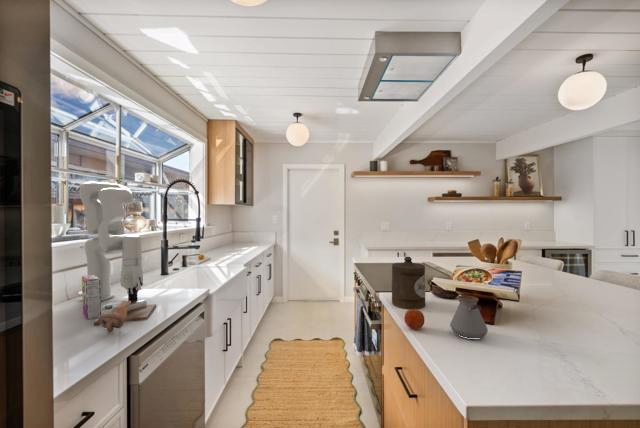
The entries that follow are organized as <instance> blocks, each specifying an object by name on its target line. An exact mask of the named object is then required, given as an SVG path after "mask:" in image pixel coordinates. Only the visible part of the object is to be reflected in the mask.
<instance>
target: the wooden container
mask: <svg viewBox="0 0 640 428" xmlns="http://www.w3.org/2000/svg"><path fill="white" fill-rule="evenodd" d="M412 259H413V258H412V257H411V256H405V257H404V258H403V260H404V261H403V262H395V263H392V265H391V304H392V305H393V306H395V307H396V308H400V309H405V310H410V309H416V310H419V309H422V308H425V307H426V266H425V264H421V263H417V262H413V261H412ZM414 307H415V308H414Z"/></svg>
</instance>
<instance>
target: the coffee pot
mask: <svg viewBox="0 0 640 428" xmlns="http://www.w3.org/2000/svg"><path fill="white" fill-rule="evenodd" d="M456 299H457V300H458V302H459V304H458V306H457V309H456V311H455V313H454V315H453V316H452V318H451V319H452V320H451V321H450V323H449V326H450V328H451V330H452V331H453V333H455V334H456V335H457V334H458V335H460V336H463V337H467V338H481V337H482V338H484V337H485V336H486V335H487V333H488V327H487V325H486V322H485V320H484V318H483V316H482V314H481V312H480V311H481V308H480V306H479V305H478V302H479V299H480V298H478V297H476V296H473V295H472V296H471V295H465V294H464V295H458V296H457V297H456ZM478 307H479V308H478ZM458 335H457V336H458ZM482 338H481V339H482Z"/></svg>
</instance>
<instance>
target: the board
mask: <svg viewBox="0 0 640 428" xmlns="http://www.w3.org/2000/svg"><path fill="white" fill-rule="evenodd" d="M156 307H157V303H154V304H153V303H152V304H147V306H144V307H141V308H137V309H134V310H131V311H127V317H126V318H124V323H129V322H130V323H131V322H138V321H146V320H148V319H149V318H150V316H151V315H152V313H153V312H154V311H155V309H156ZM93 322H94V323H93V326H94V327H95V326H102V325H101V324H100V323H99V318H98V319H97V320H95V321H93Z"/></svg>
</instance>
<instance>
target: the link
mask: <svg viewBox="0 0 640 428" xmlns="http://www.w3.org/2000/svg"><path fill="white" fill-rule="evenodd" d="M147 303H148V300H147V299H143V298H142V299H139V300H137V301H135V302H131V303H130V304H129V305H128V306H127V311H131V310H134V309H137V308H141V307H144V306H147V305H148V304H147ZM116 307H117V306H113V305H112V304H109V305H105V307H104V308H101V315H102V314H104V313H108V312H116Z"/></svg>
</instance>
